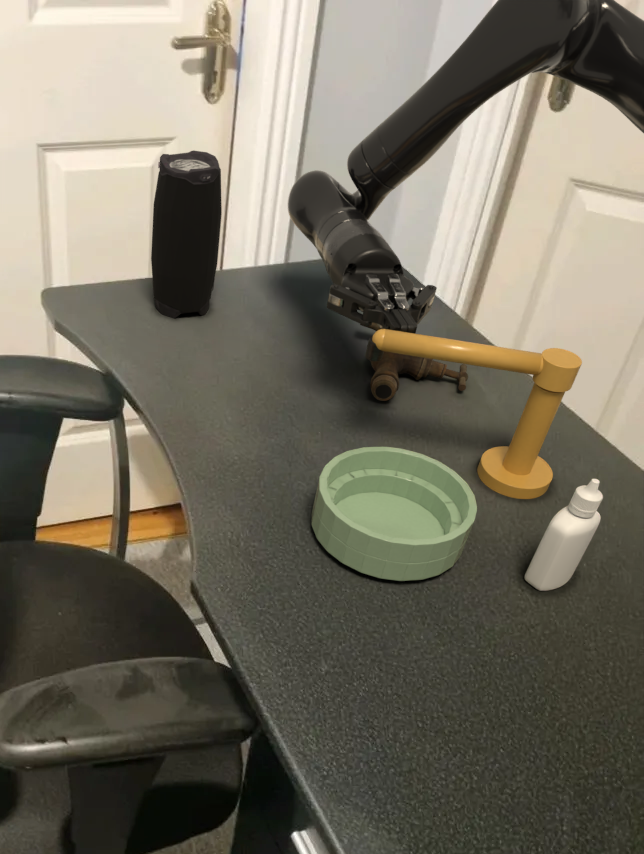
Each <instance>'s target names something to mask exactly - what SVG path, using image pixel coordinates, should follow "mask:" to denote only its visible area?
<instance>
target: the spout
mask: <svg viewBox="0 0 644 854" xmlns="http://www.w3.org/2000/svg"><path fill="white" fill-rule="evenodd" d="M367 341H368V342H367V346H366V349H365V354H364V357H365V359H366V360H368V361H369V362H371V361H380V360H381V359H382V356H383V352H384V351H385V352H392V353H398V354H404V355H410V356H417V357H423V358H429V359H433V360H436V361H442V362H450V363H455V364H460V365H462V364H465V365H466V366H474V367H481V368H487V369H492V370H493V369H494V370H498V371H499V370H500V371H507V372H513V373H519V374H525V375H531V376H532V381H533V383H535V384H537V385H538V386H539V387H541V388H543V389H546V390H549V391H553V392H565V393H566V392H568V391H571V389H572V388H573V385H574V383H575V380H576V378H577V376H578V373H579V372H580V369H581V367H582V364H583V361H582V360H583V359H582V358H581V357H580V356H579V355H578V354H576V353H575V352H573V351H570V350H568V349H564V348H558V347H550V348H546V349H544V350H543V351H542V352H535V351H530V350H523V349H516V348H510V347H504V346H497V345H490V344H483V343H477V342H470V341H465V340H458V339H452V338H446V337H439V336H432V335H426V334H420V333H415V334H414V333H408V332H401V331H395V330H388V329H380V330H378V331H375V332H374V333H373V335H371V336H370V337H369V338H368V340H367Z"/></svg>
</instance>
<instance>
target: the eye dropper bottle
mask: <svg viewBox="0 0 644 854" xmlns="http://www.w3.org/2000/svg"><path fill="white" fill-rule="evenodd" d="M600 483H601V482H600V480H599V479H597V478H591V480H590V481H589V482H588V484H587V485H585V484H584V485H579V486H577V487H576V488H575V490H574V492H573V495H572V497H571V499H570V500H569V503H568V505H566V506H564V507H563V508H561V509H560V510H559V511H558V512H556V513H555V514H554V516H553V517H552V519H551V520H550V522H549V524H548V525H547V527H546V529H545V532H544V533H543V535H542V538H541V539H540V542H539V544H538V546H537V548H536V550H535V552H534V554H533V556H532V559H531V561H530V562H529V565H528V567H527V569H526V571H525V574H524V576H523V577H524V578H523V579H524V580H525V582H527V583H528V584H529V585H530V586H532V587H533V588H535V589H536V590H538V591H540V592H547V591H552V590H556V589H559V588H561V587H563V586H564V585H565V584H567V583H568V582H569V581H570V580H571V578H572V577H573V575H574V573H575V571H577V570H576V569H577V568H578V566H579V565H580V562H581V560H582V558H583V556H584V554H585V552H586V550H587V549H588V546H589V545H590V543H591V541H592V539H593V537H594V535H595V533H596V531H597V530H598V527H599V525H600V522H601V518H602V516H601V515H600V513H599V511H598V508H599V507H600V505H601V503H602V501H603V499H604V494H603V493H602V492H601V491H600V490H599V486H600Z"/></svg>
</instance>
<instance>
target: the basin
mask: <svg viewBox="0 0 644 854" xmlns="http://www.w3.org/2000/svg"><path fill="white" fill-rule="evenodd" d="M316 486H317V487H316V492H315V496H314V501H313V506H312V511H311V527H312V530H313V532H314V534H315V538H316V540H317V541H318V542H319V544H321V546H322V547H323V549H324V550H325V551H326V552H327V553H328V554H329V555H331V556H332V557H333V558H335V559H336V560H338V561H339V562H340V563H342V564H343V565H345V566H347V567H349V568H351V569H353V570H355V571H356V572H359V573H361V574H365V575H366V576H367V575H368V576H371V577H374V578H377V579H382V580H389V581H397V582H405V581H421V580H426V579H429V578H434V577H437V576H439V575H442V574H443V573H444V572H446V571H447V570H449V569H451V568H453V567H454V566H455V565H456V564H457V562H458V561H459V559H460V557H461V556H462V553H463V551H464V549H465V546H466V543H467V541H468V538H469V536H470V533H471V531H472V528H473V526H474V523H475V520H476V516H477V513H478V504H477V501H476V495H475V493H474V492H473V490H472V489H471V487H470V485H469V484H468V483H467V481H466V480H465V479H463V477H461V475H460V474H458V472H457V471H455V470H454V469H452V468H451V467H449V466H448V465H446V464H444V463H443V462H441V461H440V460H437V459H435V458H432V457H430V456H428V455H426V454H423V453H420V452H416V451H412V450H409V449H404V448H402V447H401V448H400V447H392V446H365V447H364V446H363V447H359V448H354V449H350V450H346V451H345V452H342V453H340V454H338V455H336V456H334V457H333V458H332V459H330V460H329V462H327V463H326V465H324V467H323V468H322V471H321V473H320V475H319V476H318V482H317V485H316Z"/></svg>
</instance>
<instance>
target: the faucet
mask: <svg viewBox="0 0 644 854" xmlns="http://www.w3.org/2000/svg"><path fill="white" fill-rule="evenodd" d="M359 325H360V326H362V327H365V328H368V329H370V330H372V331H375V332H376V331H378V330H380V329H382V328H380V327H379V326H378V325H377V324H376V323H372V325H371V326H364V325H362V324H360V323H359ZM370 364H371V367H372V369H373V370H374V373H373V376H372V377H371V379H370V384H369V385H370V390H371V394H372V396H373V397H374V399H376V400H378V401H381V402H385V401H389V400H391V399H392V398H394V396H395V395H396V393H397V391H398V390H399V388H400V380H399V379H400V378H399V375H402V374H403V375H404V374H408V375H410V376H411V377H412V378H414V380H416V381H417V380H420V379H421V378H422V377H423V378H427V376H430V377H434V378H439V379H441V380H442V379H443V378H444V377H448V378H451V379H455V380H456V381H457V382H458V387H457V388H458V390H459V391H461V392H464V391H465V390H466V389H467V381H468V379H469V375H468V372H467V370H468V365H467V364H460V365H459V371H456V370H453V369H449V368H448V365H447V364H446V363H443V362H440V361H437V360H436V361H435V360H434V359H429V358H423V357H417V356H410V355H404V354H398V353H392V352H385V351H384V352H383V356H382V359H381V360H380V361H370Z"/></svg>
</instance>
